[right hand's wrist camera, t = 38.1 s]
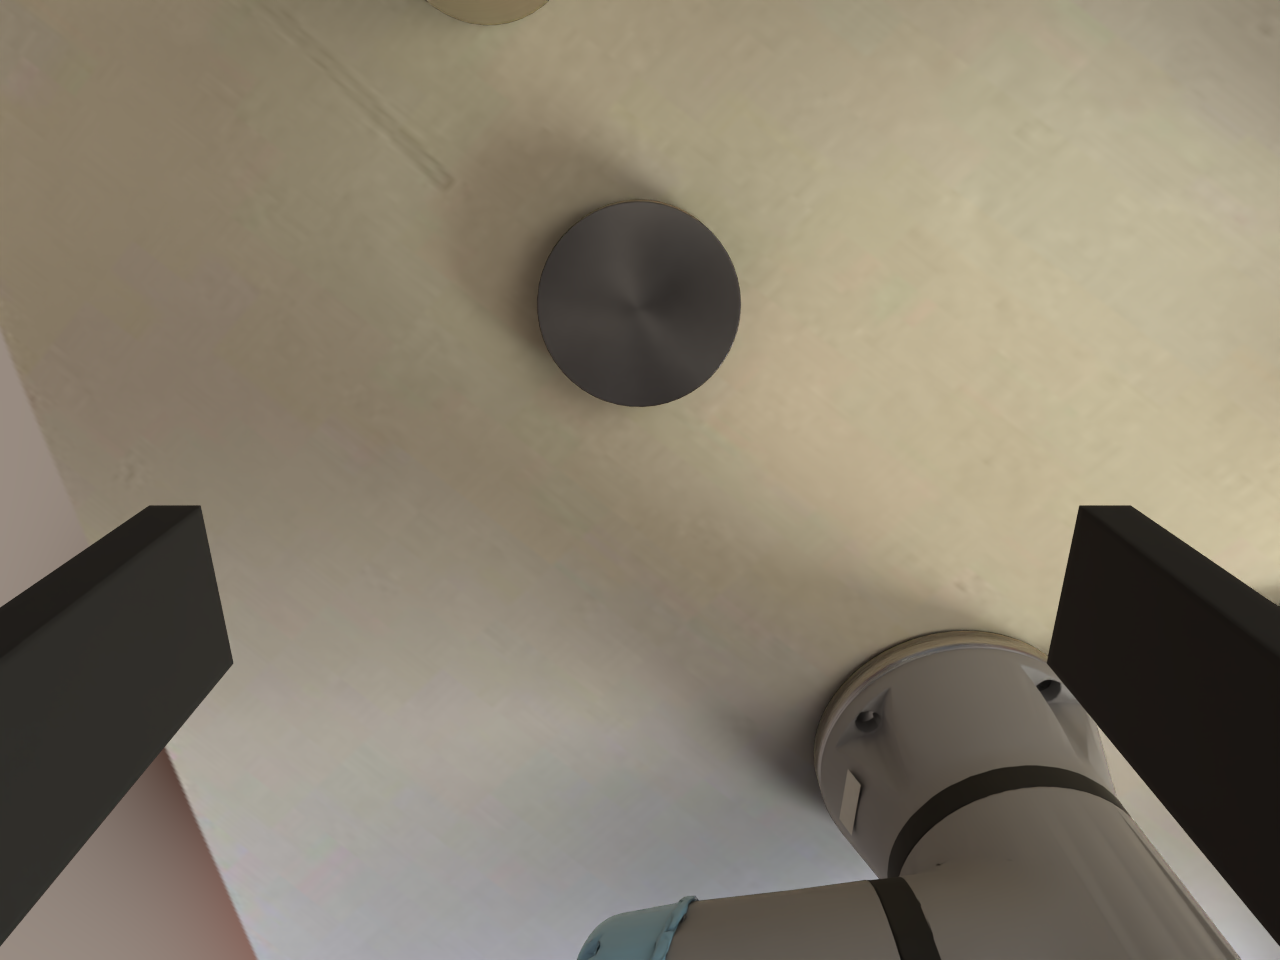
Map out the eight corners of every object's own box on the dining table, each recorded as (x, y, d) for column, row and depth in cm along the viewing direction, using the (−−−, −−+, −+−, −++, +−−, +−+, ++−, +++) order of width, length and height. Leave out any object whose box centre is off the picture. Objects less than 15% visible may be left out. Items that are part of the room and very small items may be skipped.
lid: (643, 430, 40) (644, 445, 38) (503, 305, 38) (495, 314, 36) (775, 295, 38) (783, 303, 36) (633, 154, 36) (633, 153, 33)
